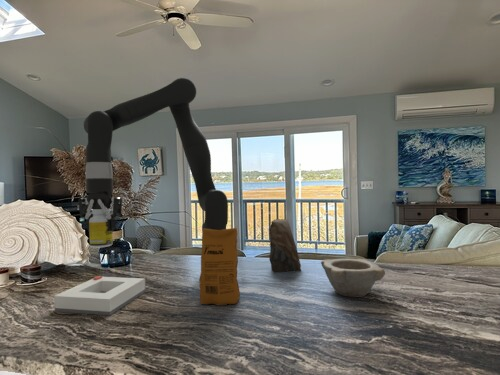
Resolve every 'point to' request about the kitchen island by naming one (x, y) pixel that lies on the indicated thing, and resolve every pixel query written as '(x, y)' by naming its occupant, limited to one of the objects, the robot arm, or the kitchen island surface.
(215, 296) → the coffee package
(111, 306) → the socket block
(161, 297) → the kitchen island surface
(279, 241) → the brown rock
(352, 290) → the mortar
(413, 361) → the kitchen island surface
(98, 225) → the pill bottle
